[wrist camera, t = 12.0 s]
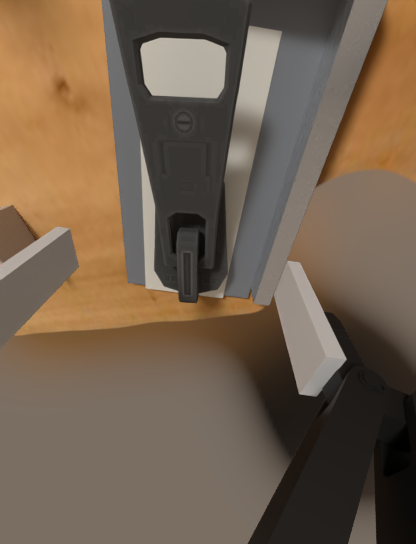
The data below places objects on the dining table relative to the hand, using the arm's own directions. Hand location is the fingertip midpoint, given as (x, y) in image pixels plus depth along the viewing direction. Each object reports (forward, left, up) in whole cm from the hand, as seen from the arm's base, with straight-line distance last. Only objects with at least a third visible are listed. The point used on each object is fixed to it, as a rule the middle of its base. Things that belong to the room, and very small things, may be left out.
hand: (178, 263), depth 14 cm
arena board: (0, -1, -14) cm, 14 cm away
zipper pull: (+1, -1, -13) cm, 13 cm away
